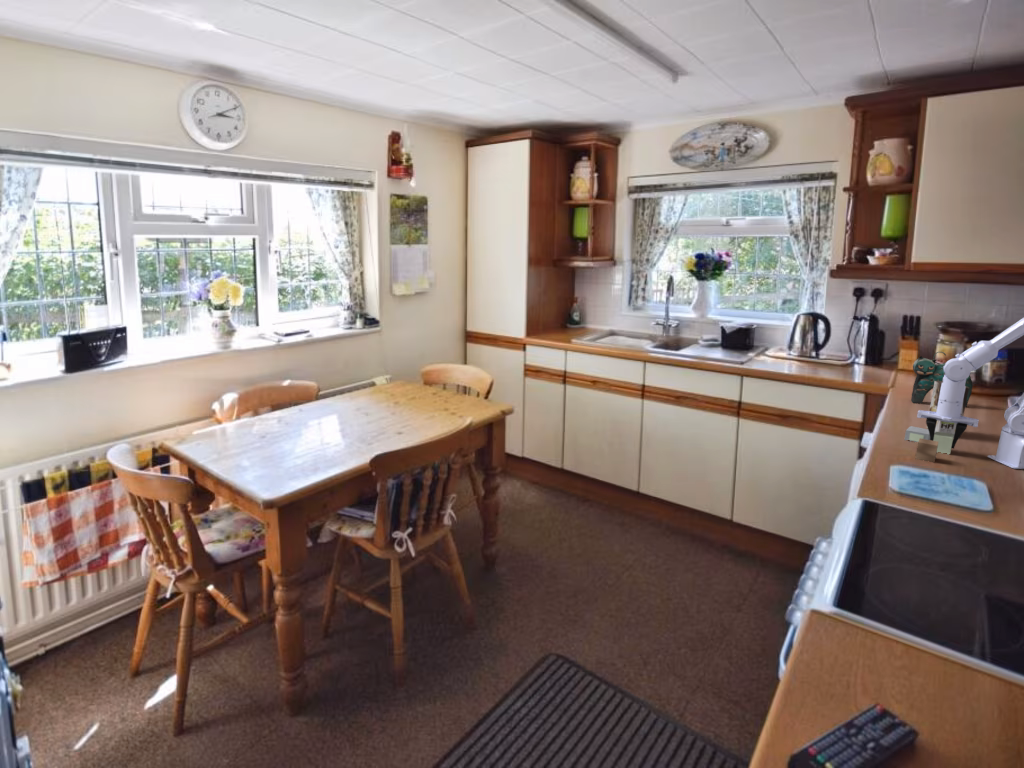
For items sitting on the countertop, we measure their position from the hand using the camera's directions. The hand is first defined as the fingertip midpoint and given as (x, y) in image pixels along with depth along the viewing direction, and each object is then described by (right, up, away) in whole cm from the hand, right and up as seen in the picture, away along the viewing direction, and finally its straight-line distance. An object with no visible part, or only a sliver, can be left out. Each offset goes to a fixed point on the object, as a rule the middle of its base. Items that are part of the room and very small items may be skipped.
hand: (942, 445), depth 185 cm
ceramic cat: (+35, +10, +54) cm, 65 cm away
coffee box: (+13, +2, +18) cm, 22 cm away
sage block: (0, -2, 0) cm, 2 cm away
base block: (-1, 0, +10) cm, 10 cm away
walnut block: (-9, -3, -6) cm, 12 cm away
